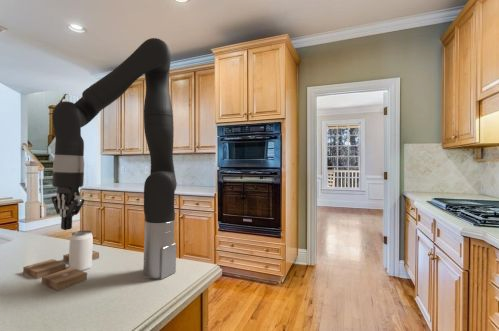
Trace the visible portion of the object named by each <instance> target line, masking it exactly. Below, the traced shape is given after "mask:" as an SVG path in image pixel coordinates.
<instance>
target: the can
mask: <svg viewBox="0 0 499 331" xmlns="http://www.w3.org/2000/svg"><path fill="white" fill-rule="evenodd" d="M93 237H94V236H93V234H92V231H91V230H78V231H77V230H76V231H73V232H71V235H70V238H69V248H68V251H69V252H68V254H69V262H68V269H69V268H74V269H77V270H80V271H83V272H85V271H87V270H89V269H91V267H92V266H93V260H92V251H93V248H94V247H93V244H94V242H93V240H94V239H93Z"/></svg>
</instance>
